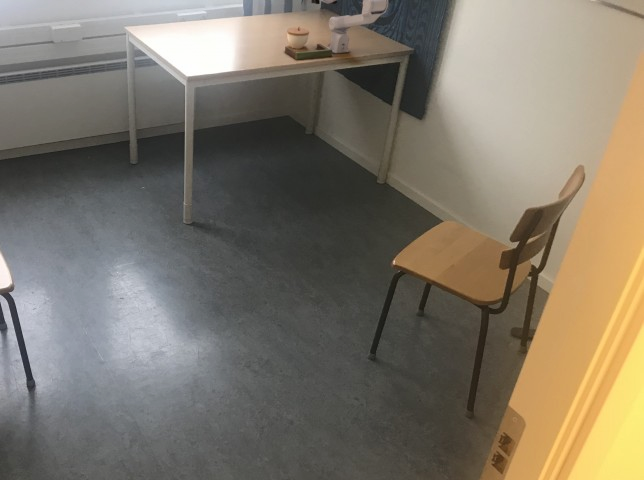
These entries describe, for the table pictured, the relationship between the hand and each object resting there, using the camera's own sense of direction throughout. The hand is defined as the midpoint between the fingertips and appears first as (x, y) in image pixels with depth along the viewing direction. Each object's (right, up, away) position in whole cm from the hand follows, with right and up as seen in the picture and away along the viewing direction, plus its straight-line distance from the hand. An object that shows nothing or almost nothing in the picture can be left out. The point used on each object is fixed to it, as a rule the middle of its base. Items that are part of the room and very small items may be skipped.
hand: (318, 0), depth 350 cm
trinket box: (-11, -24, -1) cm, 26 cm away
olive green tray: (-7, -31, -10) cm, 33 cm away
